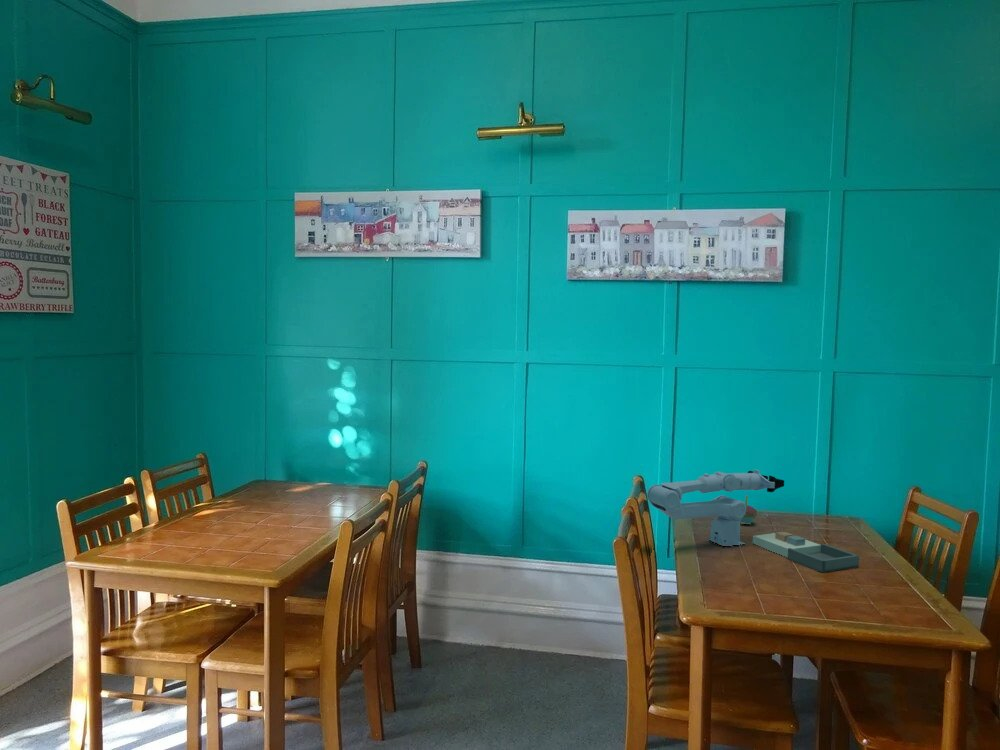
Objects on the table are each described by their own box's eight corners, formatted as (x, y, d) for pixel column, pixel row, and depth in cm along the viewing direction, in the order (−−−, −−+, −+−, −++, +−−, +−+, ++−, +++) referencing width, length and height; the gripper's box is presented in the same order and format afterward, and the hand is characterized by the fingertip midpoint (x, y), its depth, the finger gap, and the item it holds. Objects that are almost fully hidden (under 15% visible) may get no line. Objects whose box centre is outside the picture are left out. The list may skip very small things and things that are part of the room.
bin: (822, 572, 215) (822, 561, 215) (787, 558, 227) (788, 548, 227) (858, 566, 221) (859, 555, 221) (822, 553, 234) (823, 543, 234)
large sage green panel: (788, 558, 228) (789, 549, 228) (752, 544, 243) (753, 535, 242) (820, 553, 234) (821, 545, 233) (783, 540, 248) (783, 532, 248)
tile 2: (796, 546, 232) (796, 540, 231) (786, 542, 235) (786, 536, 235) (805, 544, 233) (805, 538, 233) (795, 541, 237) (795, 535, 237)
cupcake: (758, 527, 265) (760, 495, 264) (734, 525, 266) (736, 494, 265) (753, 521, 273) (755, 490, 272) (731, 519, 274) (732, 489, 274)
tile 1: (784, 541, 236) (784, 535, 236) (775, 538, 240) (775, 532, 240) (793, 540, 238) (793, 534, 238) (784, 537, 241) (784, 531, 241)
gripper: (761, 473, 238) (791, 473, 243) (731, 466, 251) (761, 466, 256) (759, 494, 238) (790, 494, 243) (729, 486, 251) (759, 485, 256)
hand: (775, 481), depth 250 cm, fingers open, 7 cm apart
